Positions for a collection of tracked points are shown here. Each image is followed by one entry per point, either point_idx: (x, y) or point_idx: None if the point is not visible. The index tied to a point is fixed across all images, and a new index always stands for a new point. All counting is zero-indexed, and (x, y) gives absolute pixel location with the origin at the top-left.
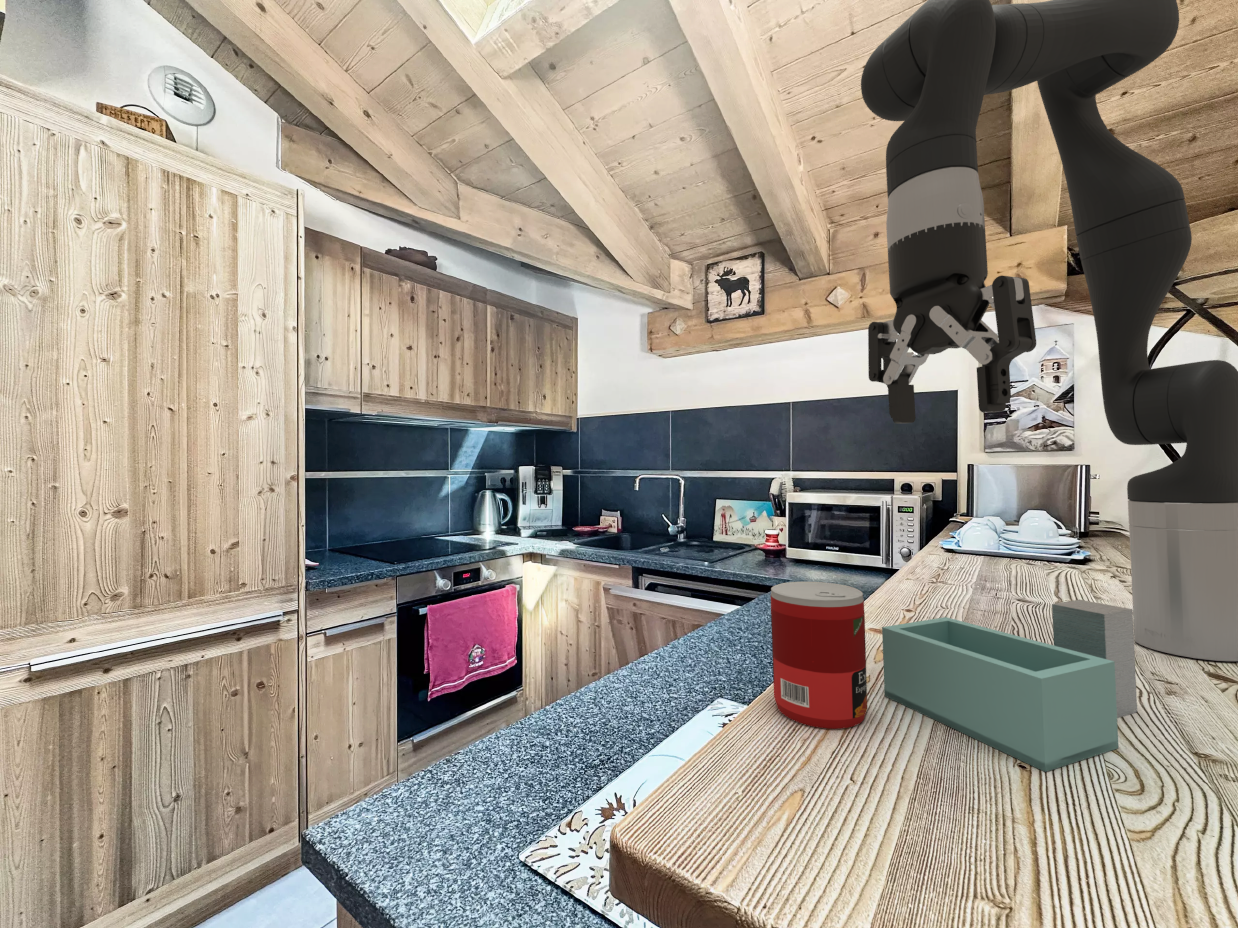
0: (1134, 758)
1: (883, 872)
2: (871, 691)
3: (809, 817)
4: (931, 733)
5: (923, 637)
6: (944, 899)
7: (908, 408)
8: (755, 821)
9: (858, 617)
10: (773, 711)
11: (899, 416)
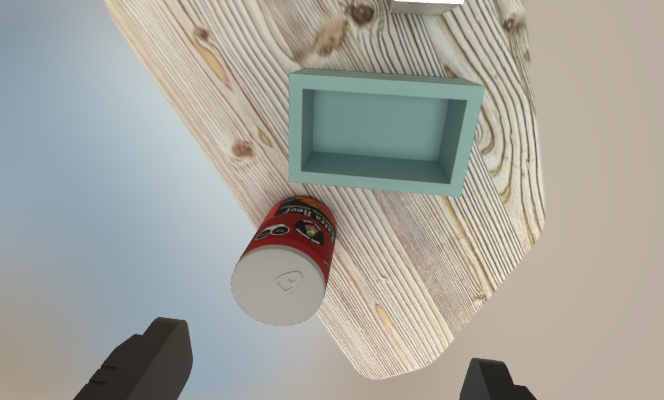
0: None
1: (441, 318)
2: None
3: (396, 317)
4: None
5: (335, 177)
6: (465, 311)
7: (162, 376)
8: (385, 337)
9: (326, 269)
10: None
11: (183, 381)
